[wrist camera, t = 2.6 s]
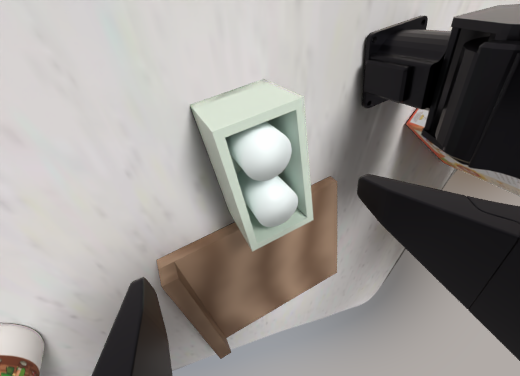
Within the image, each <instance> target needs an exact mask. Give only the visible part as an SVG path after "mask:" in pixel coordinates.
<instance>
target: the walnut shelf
mask: <svg viewBox="0 0 520 376" xmlns="http://www.w3.org/2000/svg"><path fill="white" fill-rule="evenodd" d="M311 195H312V207H313V220H312V221H310V222H308V223H307V224H305V225H303V226H301V227H299V228H297V229H295V230H293V231H291V232H289V233H287V234H285V235H283V236H282V237H280V238H278V239H276V240H274V241H272V242H270V243H268V244H266V245H264V246H262V247H260V248H258V249H256V250H255V251H253V252H252V250H251V248H250V247H249V245H248V243H247V241H246V240H245V238H244V236H243V235H242V233H241V231H240V229H239V228H238V226H237V224H236V223H235V222H234V223H232V224H230V225H228V226H226V227H224V228H222V229H220V230H218V231H216V232H214V233H212V234H209V235H207V236H205V237H203V238H201V239H199V240H197V241H195V242H193V243H191V244H189V245H187V246H185V247H182V248H180V249H178V250H176V251H174V252H172V253H170V254H168V255H166V256H164V257H162V258H160V259H158V260H157V264H158V270H159V276H160V281H161V287H162V288H163V289H164V290H165V292H166V293H167V294H168V295H169V297H170V298H171V299H172V300H173V301H174V303H175V304H176V305H177V306H178V308H179V309H180V310H181V311H182V312H183V314H184V315H185V316H186V317H187V318H188V320H189V321H190V322H191V323H192V325H193V326H194V327H195V328H196V329H197V331H198V332H199V333H200V334H201V336H202V337H203V338H204V339H205V340H206V342H207V343H208V344H209V345H210V347H211V348H212V349H213V350H214V351H215V353H216V354H217V355H218V356H219V357H220V358H223V357H225V356H226V355H228V354H229V353H231V350H230V348H229V345H228V342H227V339H226V338H227V337H229V336H230V335H232V334H234V333H235V332H237V331H239V330H240V329H242V328H244V327H246V326H247V325H249V324H251V323H252V322H254V321H256V320H257V319H259V318H261V317H262V316H264V315H266V314H268V313H269V312H271V311H273V310H274V309H276V308H278V307H279V306H281V305H283V304H284V303H286V302H288V301H290V300H291V299H293V298H295V297H296V296H298V295H300V294H301V293H303V292H305V291H306V290H308V289H310V288H312V287H313V286H315V285H317V284H318V283H320V282H322V281H323V280H325V279H327V278H328V277H330V276H332V275H334V274H335V273H337V181H336V180H335V179H333V178H332V177H331V176H330V177H328V178H326V179H324V180H322V181H319V182H317V183H315V184H313V185H311Z"/></svg>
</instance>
